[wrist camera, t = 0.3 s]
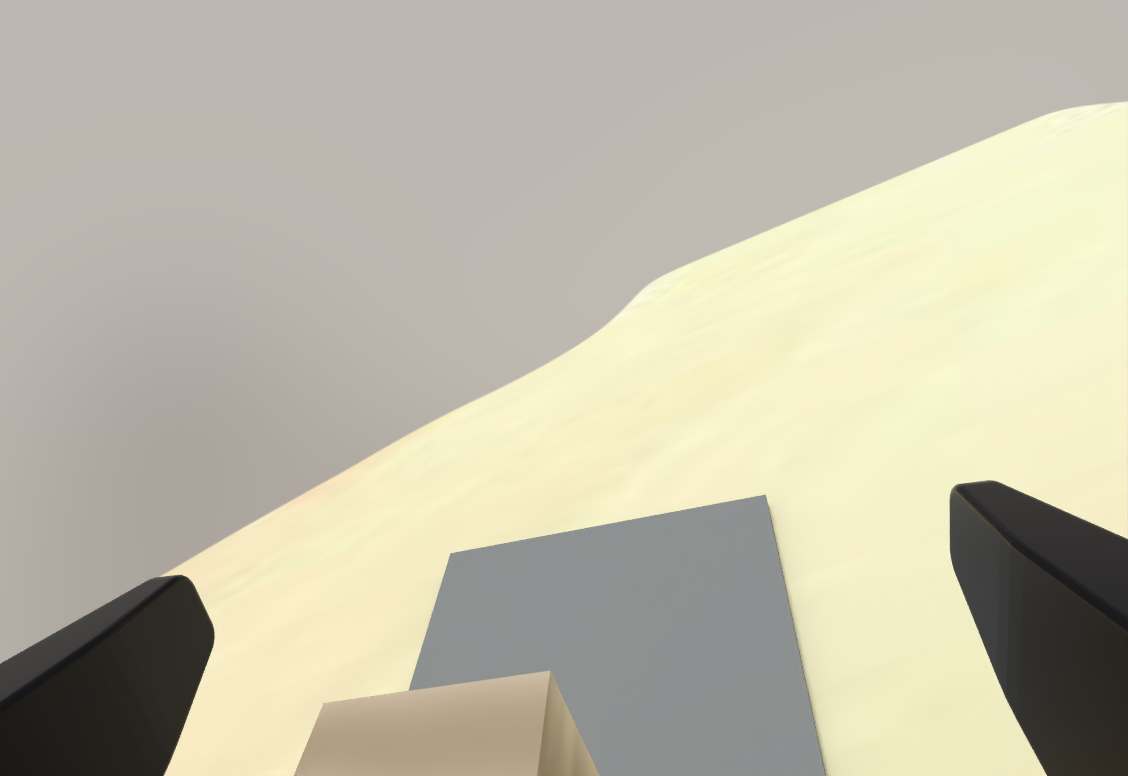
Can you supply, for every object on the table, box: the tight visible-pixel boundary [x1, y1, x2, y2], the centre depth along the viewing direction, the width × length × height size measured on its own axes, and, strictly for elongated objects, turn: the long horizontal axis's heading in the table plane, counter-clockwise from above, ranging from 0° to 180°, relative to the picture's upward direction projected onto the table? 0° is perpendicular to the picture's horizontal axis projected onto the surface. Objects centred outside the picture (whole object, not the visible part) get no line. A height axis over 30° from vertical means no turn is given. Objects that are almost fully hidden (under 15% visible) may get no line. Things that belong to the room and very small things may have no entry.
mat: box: [409, 495, 826, 776], centre depth 27 cm, size 14×14×1 cm
